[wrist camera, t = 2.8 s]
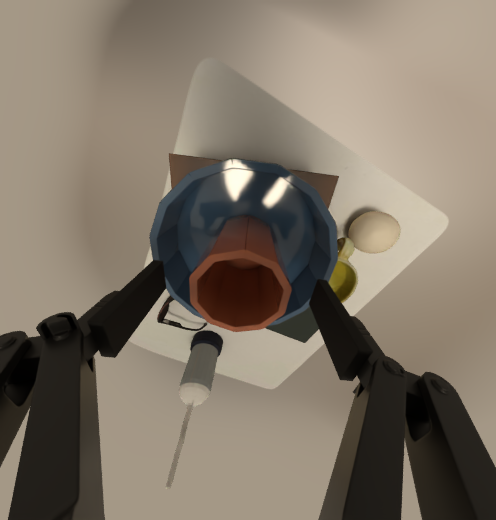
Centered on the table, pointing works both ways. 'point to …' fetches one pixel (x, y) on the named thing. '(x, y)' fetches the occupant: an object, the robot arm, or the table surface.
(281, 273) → the cup
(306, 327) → the mat
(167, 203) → the bowl
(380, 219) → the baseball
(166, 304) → the sunglasses
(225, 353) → the table surface
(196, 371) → the humidifier
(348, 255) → the mug
